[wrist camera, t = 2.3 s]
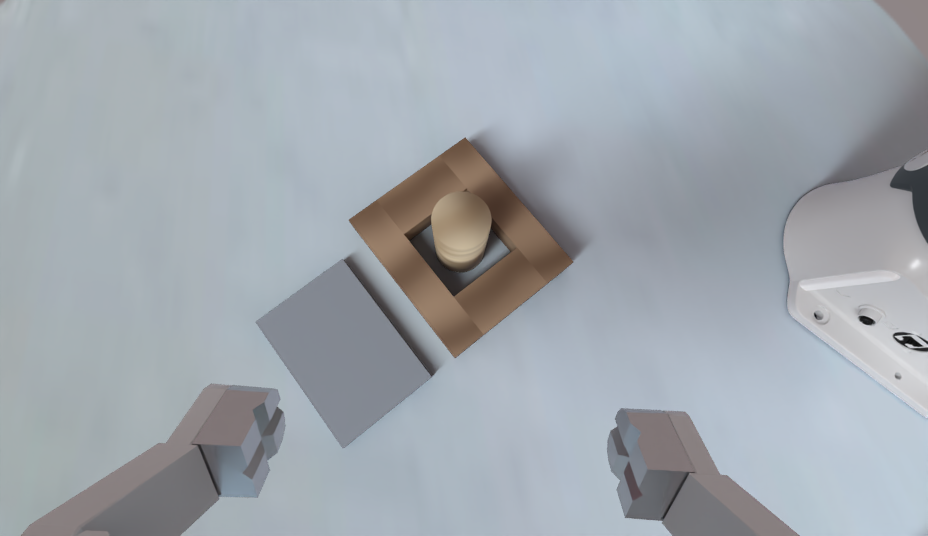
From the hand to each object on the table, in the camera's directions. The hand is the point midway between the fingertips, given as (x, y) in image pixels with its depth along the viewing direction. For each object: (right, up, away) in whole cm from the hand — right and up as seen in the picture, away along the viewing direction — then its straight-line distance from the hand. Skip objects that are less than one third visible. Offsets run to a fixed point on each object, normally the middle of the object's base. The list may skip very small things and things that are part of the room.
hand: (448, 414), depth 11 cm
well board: (0, +5, +30) cm, 30 cm away
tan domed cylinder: (0, +5, +30) cm, 30 cm away
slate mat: (-10, -4, +27) cm, 29 cm away
